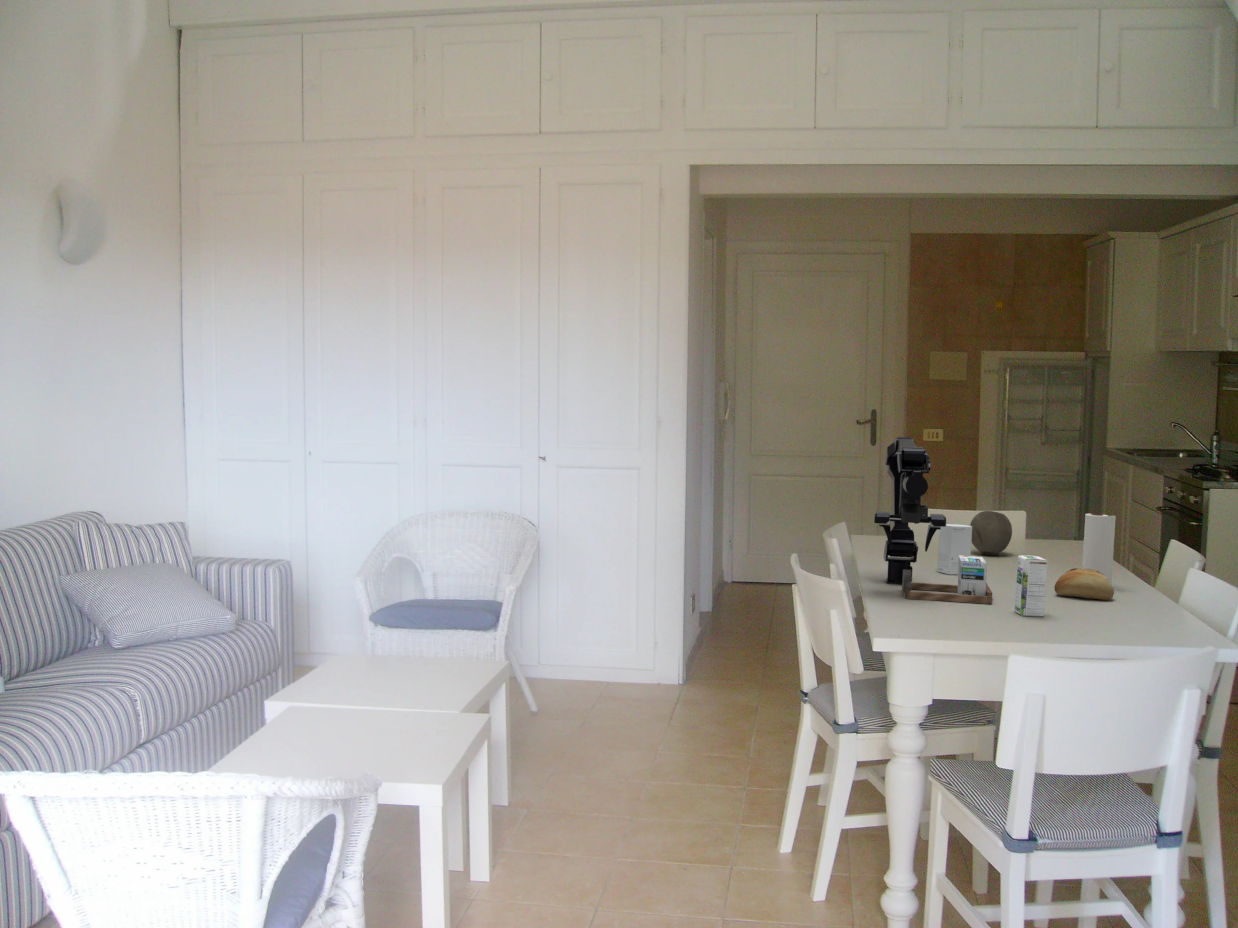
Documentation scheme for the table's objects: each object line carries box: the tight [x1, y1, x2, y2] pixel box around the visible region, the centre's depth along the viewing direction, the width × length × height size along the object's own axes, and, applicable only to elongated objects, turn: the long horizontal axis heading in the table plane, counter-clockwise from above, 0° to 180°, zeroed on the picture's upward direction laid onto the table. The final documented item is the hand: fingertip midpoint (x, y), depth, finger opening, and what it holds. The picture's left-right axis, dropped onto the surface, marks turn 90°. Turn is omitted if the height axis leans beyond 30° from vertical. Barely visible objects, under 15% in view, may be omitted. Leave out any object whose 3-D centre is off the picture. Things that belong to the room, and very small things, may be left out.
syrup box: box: [1014, 554, 1048, 617], centre depth 268 cm, size 6×6×14 cm
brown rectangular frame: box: [901, 570, 993, 605], centre depth 289 cm, size 22×15×6 cm
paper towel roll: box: [1081, 513, 1117, 586], centre depth 306 cm, size 7×6×21 cm
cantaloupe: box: [969, 510, 1013, 556], centre depth 365 cm, size 14×14×15 cm
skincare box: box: [936, 523, 972, 576], centre depth 326 cm, size 8×6×15 cm
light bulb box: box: [956, 555, 988, 596], centre depth 287 cm, size 11×7×11 cm, turn 167°
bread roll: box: [1053, 567, 1115, 601], centre depth 292 cm, size 10×15×8 cm, turn 72°
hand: (908, 550), depth 291 cm, fingers open, 9 cm apart
